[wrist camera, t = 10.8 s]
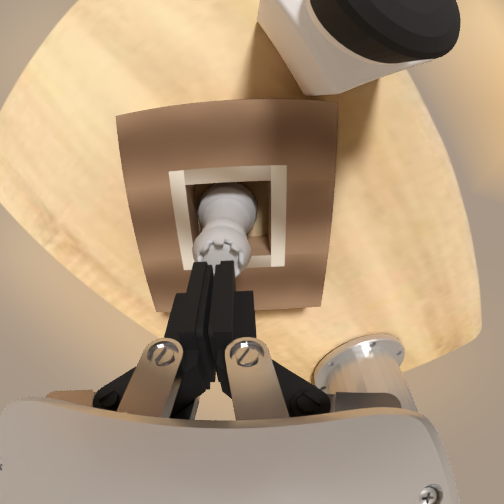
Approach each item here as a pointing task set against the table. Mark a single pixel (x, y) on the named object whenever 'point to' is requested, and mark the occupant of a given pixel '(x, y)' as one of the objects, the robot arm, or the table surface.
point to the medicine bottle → (356, 38)
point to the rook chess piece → (225, 225)
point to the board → (234, 170)
